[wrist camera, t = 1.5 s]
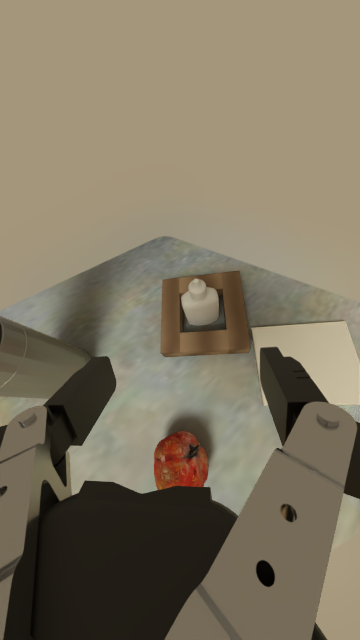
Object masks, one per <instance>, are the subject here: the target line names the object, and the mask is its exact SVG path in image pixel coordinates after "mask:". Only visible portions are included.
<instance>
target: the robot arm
mask: <svg viewBox="0 0 360 640" xmlns="http://www.w3.org/2000/svg"><path fill="white" fill-rule="evenodd" d="M260 381H261V386H262V389H263V392H264V395H265V398H266V400H267V403H268V406H269V409H270V412H271V415H272V417H273V420H274V423H275V426H276V429H277V432H278V434H279V437H280V440H281V443H282V446H283V448H282V449H279V448H277V449H275V451H274V452H273V453H272V455H271V457H270V459H269V461H268V463H267V464H266V466H265V468H264V470H263V472H262V474H261V476H260V477H259V479H258V481H257V483H256V485H255V487H254V489H253V490H252V492H251V494H250V496H249V498H248V500H247V501H246V503H245V505H244V507H243V509H242V511H241V513H240V514H239V516H238V515H237V514H235V513H234V512H233V511H231V510H230V509H229V508H227V507H226V506H224V505H222V504H220V503H218V502H216V501H213V500H212V496H211V489H210V487H193V486H173V487H169V488H165V489H161V490H157V491H153V492H149V493H144V494H140V493H137V492H135V491H133V490H130V489H128V488H126V487H123V486H121V485H119V484H116V483H114V482H100V481H84V483H83V485H82V487H81V489H80V491H79V493H78V494H75V495H72V492H71V475H70V457H69V453H68V451H67V450H68V448H69V447H70V445H73V446H82V444H83V443H84V441H85V439H86V438H87V436H88V434H89V433H90V431H91V429H92V428H93V426H94V424H95V423H96V421H97V419H98V418H99V416H100V414H101V413H102V411H103V409H104V408H105V406H106V404H107V403H108V401H109V399H110V398H111V396H112V394H113V393H114V391H115V388H116V378H115V375H114V372H113V369H112V365H111V362H110V359H109V358H108V357H107V356H103V357H93V358H91V357H90V355H89V354H88V353H87V352H86V351H85V350H82V349H80V348H78V347H75V346H73V345H70V344H68V343H66V342H63V341H61V340H58V339H56V338H53V337H51V336H48V335H46V334H43V333H41V332H38V331H36V330H34V329H31V328H29V327H26V326H24V325H21V324H19V323H16V322H14V321H11V320H9V319H6V318H4V317H1V316H0V397H24V398H46V399H49V400H48V401H47V402H46V403H45V404H44V405H43V406H35V407H32V408H29V409H27V410H25V411H23V412H22V413H20V414H19V415H17V416H16V417H15V418H13V419H12V420H11V421H10V423H9V424H8V425H5V426H1V427H0V640H327V639H326V637H325V636H324V635H323V633H322V631H321V630H320V628H319V627H318V626H317V624H316V623H315V620H316V615H317V611H318V606H319V602H320V597H321V592H322V588H323V583H324V579H325V574H326V570H327V565H328V561H329V556H330V552H331V547H332V542H333V538H334V533H335V529H336V524H337V520H338V515H339V511H340V506H341V502H342V497H343V493H345V494H347V495H350V496H353V497H356V498H359V499H360V423H358V422H355V420H354V419H353V417H352V416H351V415H350V414H349V413H347V412H346V411H345V410H343V409H341V408H340V407H338V406H335V405H333V404H330V403H329V402H328V401H327V399H326V398H325V396H324V395H323V394H322V392H321V391H320V389H319V388H318V387H317V385H316V384H315V382H314V381H313V380H312V379H311V378H310V376H309V374H308V373H307V372H306V370H305V369H304V367H303V366H302V364H301V363H300V362H298V361H297V360H295V359H294V358H292V357H291V356H290V357H283V355H282V353H281V352H280V350H279V348H278V347H263V348H260Z"/></svg>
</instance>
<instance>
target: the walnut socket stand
mask: <svg viewBox="0 0 360 640" xmlns="http://www.w3.org/2000/svg"><path fill="white" fill-rule="evenodd" d="M194 279H200V280H202V281H204V282H205V284H206V287H210V288H214V289H215V290H216V291H217V294H218V297H223V307H224V317H225V326H226V330H215V331H200V332H186V333H183V312H182V302H181V297H182V295H183V294H185V293H186V292H188V291H189V289H188V286H189V284H190V282H191V281H193V280H194ZM250 349H251V346H250V340H249V333H248V326H247V319H246V313H245V306H244V299H243V292H242V286H241V279H240V272H239V271H234V272H225V273H217V274H208V275H199V276H191V277H182V278H173V279H165V280H163V281H162V319H161V354H162V355H163V356H165V357H177V356H196V355H215V354H234V353H248V352H249V351H250Z"/></svg>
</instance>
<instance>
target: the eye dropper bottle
mask: <svg viewBox="0 0 360 640" xmlns="http://www.w3.org/2000/svg"><path fill="white" fill-rule="evenodd" d="M188 289H189V291H188V292H186V293H185V294H183V295H182V297H181V302H182V307H183V310H184V312H185V315H186V318H187V320H188V322H189V324H191V325H195V326H203V325H208V324H211V323H213V322H215V321H216V320H218V318H219V299H218V294H217V291H216V290H215V289H214V288H210V287H206V284H205V282H204V281H202V280H200V279H194V280H193V281H191V282H190V284H189V286H188Z"/></svg>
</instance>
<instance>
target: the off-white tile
mask: <svg viewBox="0 0 360 640" xmlns="http://www.w3.org/2000/svg"><path fill="white" fill-rule="evenodd" d="M251 332H252V338H253V345H254V351H255V357H256V364H257V370H258V377H259V383H260V390H261V396H262V403H263V406H268V403H267V400H266V398H265V395H264V392H263V389H262V386H261V381H260V348H263V347H278V348H279V350H280V352H281V353H282V355H283V357H290V356H291V357H292V358H294V359H295V360H297V361H298V362H300V363H301V364H302V366H303V367H304V369H305V370H306V372H307V373H308V374H309V376H310V378H311V379H312V380H313V381H314V382H315V384H316V385H317V387H318V388H319V389H320V391H321V392H322V394H323V395H324V396H325V398H326V399H327V401H328V402H329V403H330V404H333V405H360V361H359V359H358V356H357V353H356V350H355V347H354V344H353V341H352V339H351V336H350V333H349V330H348V327H347V324H346V321H340V322H325V323H311V324H297V325H283V326H269V327H255V328H251Z"/></svg>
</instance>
